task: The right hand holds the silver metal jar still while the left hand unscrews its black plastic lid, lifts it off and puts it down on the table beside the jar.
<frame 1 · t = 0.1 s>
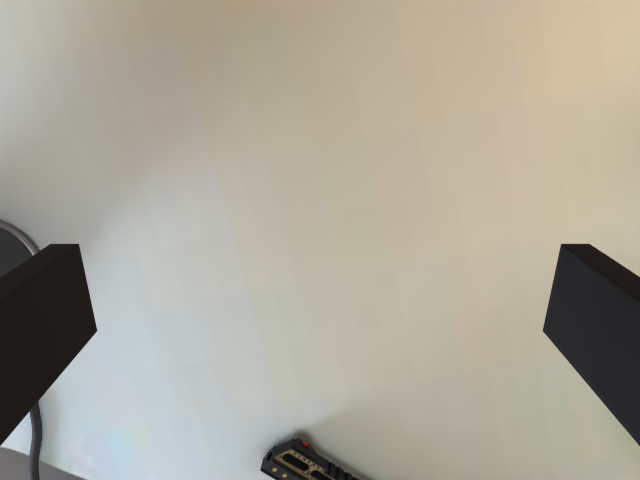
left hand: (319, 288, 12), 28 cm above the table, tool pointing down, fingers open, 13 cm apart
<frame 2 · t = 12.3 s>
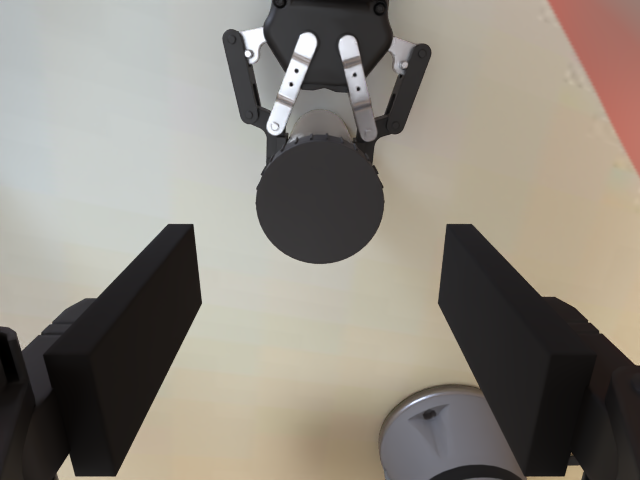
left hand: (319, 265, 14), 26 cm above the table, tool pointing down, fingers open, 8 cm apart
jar: (320, 138, 38), on the table, touching right hand
lid: (320, 203, 20), point 19 cm above the table, screwed on, not yet turned
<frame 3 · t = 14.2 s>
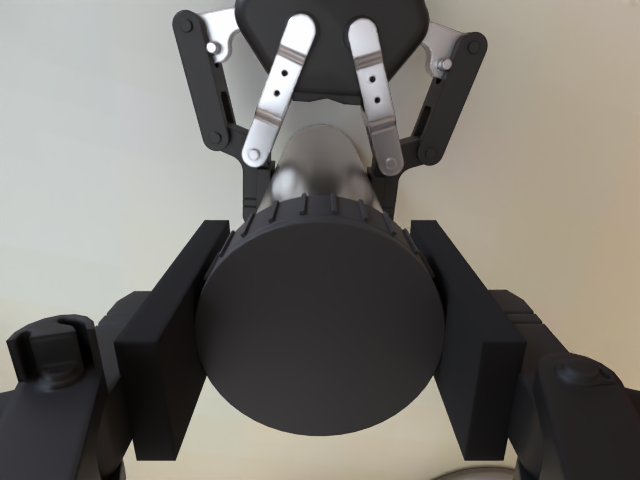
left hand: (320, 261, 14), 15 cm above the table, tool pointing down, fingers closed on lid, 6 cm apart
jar: (320, 163, 28), on the table, touching right hand
lid: (319, 331, 10), point 19 cm above the table, screwed on, not yet turned, touching left hand
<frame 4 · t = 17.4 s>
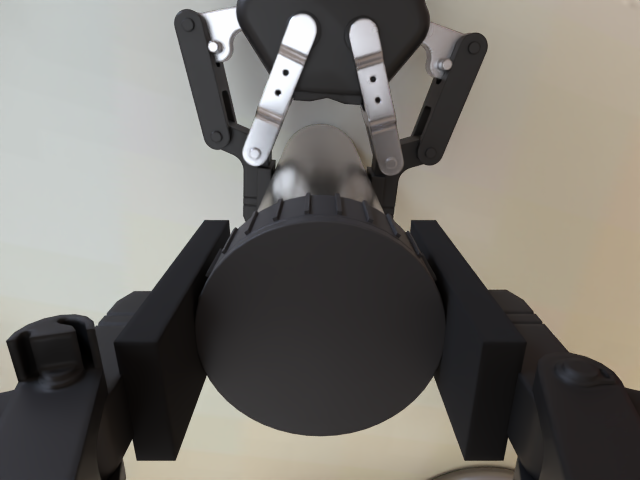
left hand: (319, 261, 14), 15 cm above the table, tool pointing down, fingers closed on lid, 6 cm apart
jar: (320, 162, 28), on the table, touching right hand
lid: (320, 331, 10), point 19 cm above the table, turned 95° so far, risen 0.1 cm, still on its thread, touching left hand
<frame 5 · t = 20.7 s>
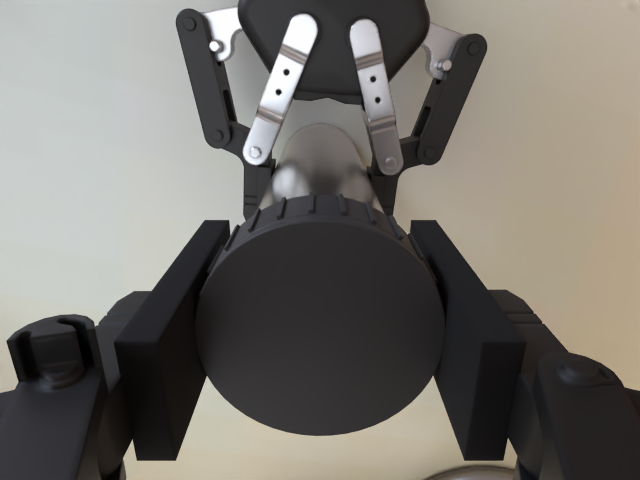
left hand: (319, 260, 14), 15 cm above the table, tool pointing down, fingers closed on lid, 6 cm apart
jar: (320, 162, 29), on the table, touching right hand
lid: (320, 330, 10), point 20 cm above the table, turned 191° so far, risen 0.2 cm, still on its thread, touching left hand
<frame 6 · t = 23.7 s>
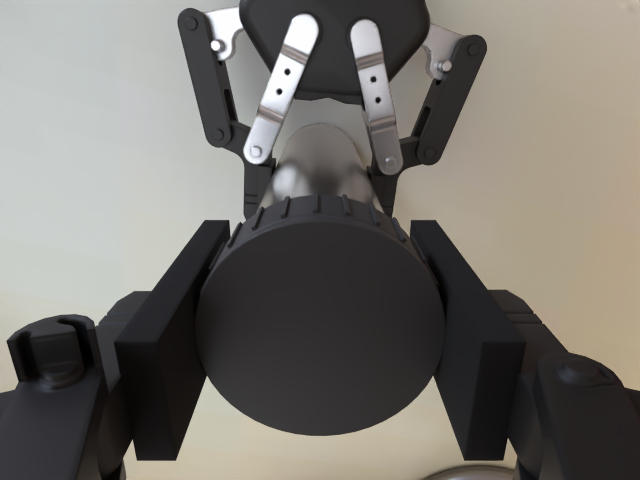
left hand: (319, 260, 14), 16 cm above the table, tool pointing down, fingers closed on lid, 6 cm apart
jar: (320, 161, 29), on the table, touching right hand
lid: (320, 331, 10), point 20 cm above the table, turned 286° so far, risen 0.4 cm, still on its thread, touching left hand
when the left hand's fingers open (0 cm above the table, at t = 31.7 s): lid drops 2 cm, point 2 cm above the table.
when the right hand's fingers open (6 cm above the table, at t = 32.3 s): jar stays where it is, on the table.
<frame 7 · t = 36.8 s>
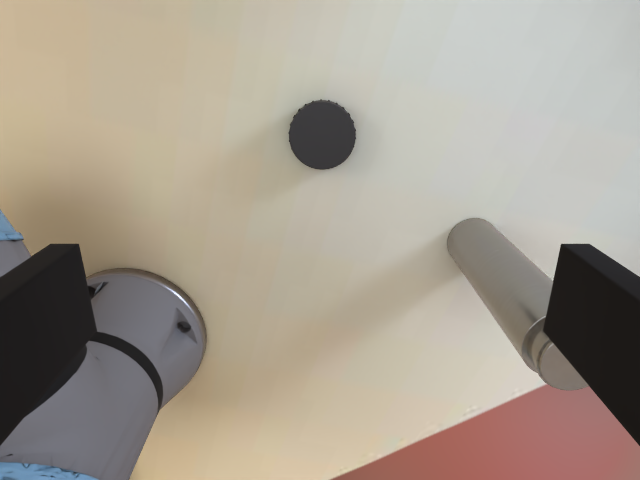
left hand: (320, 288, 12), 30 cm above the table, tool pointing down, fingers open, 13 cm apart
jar: (471, 241, 44), on the table
lid: (322, 136, 38), point 2 cm above the table, off its thread
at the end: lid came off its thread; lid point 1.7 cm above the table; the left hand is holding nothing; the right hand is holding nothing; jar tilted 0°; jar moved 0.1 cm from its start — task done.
